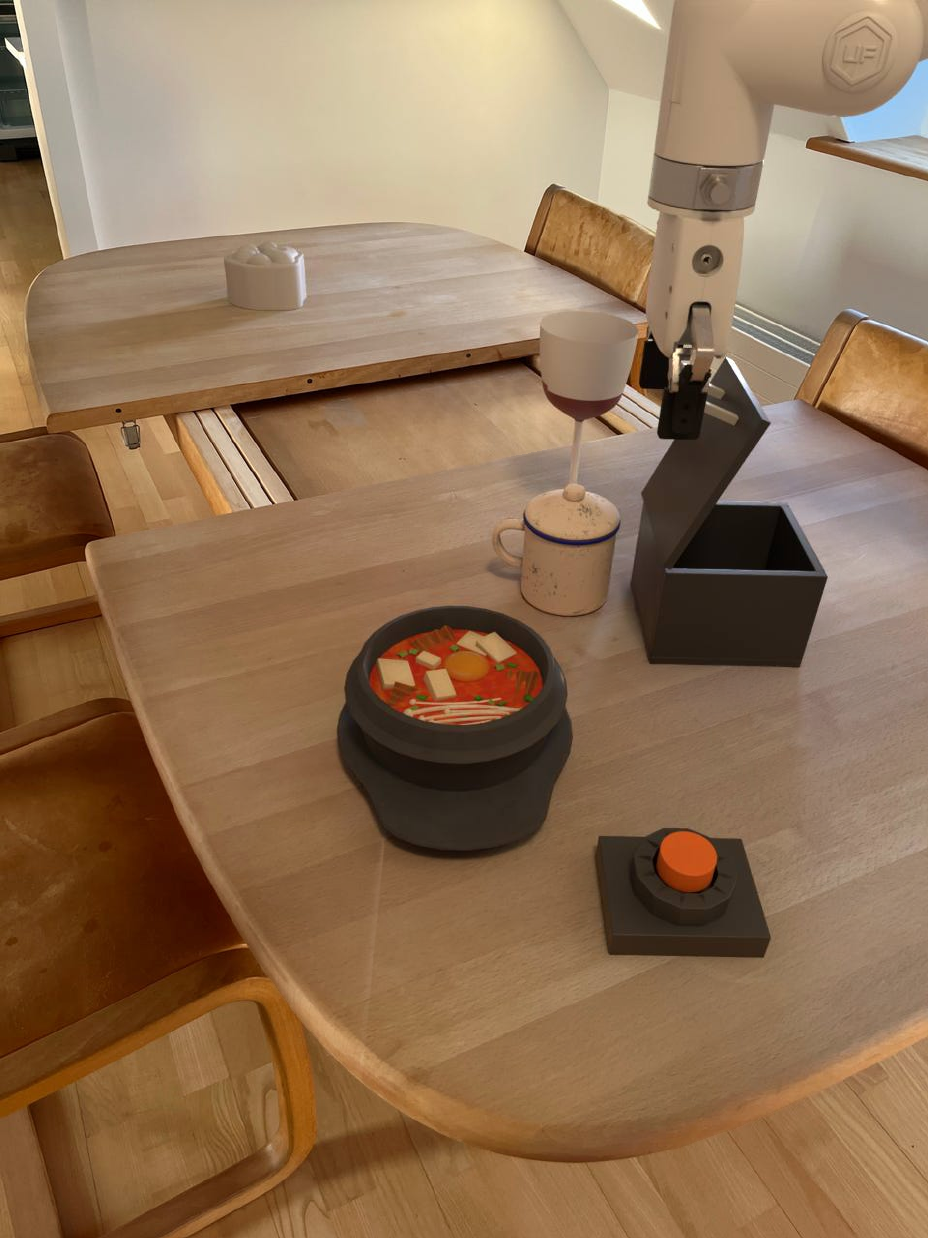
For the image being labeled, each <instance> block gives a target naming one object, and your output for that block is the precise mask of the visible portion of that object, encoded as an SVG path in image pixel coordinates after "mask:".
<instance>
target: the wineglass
mask: <svg viewBox="0 0 928 1238" xmlns="http://www.w3.org/2000/svg"><path fill="white" fill-rule="evenodd" d="M638 336H639V328H638V326H637V325H636V324H634V323H633V322H632V321H630V320H627V318H623V317H621V316H617V315H615V314H611V313H610V314H608V313H605V312H598V311H587V310H566V311H558V312H554V313H550V314H548V315H545V316H544V317H542V318H541V320H540V322H539V367H540V376H541V383H542V389H543V392H544V395H545V397H546V399H547V401H548V402H549V403H550V404H551V405H552V406H553V407H554V408H555V409H557V410H558V411H560V412H561V413H563V414H564V415H566V416H568V417H570V418H572V419H573V420H574V429H573V439H572V449H571V460H570V469H569V478H568V485H569V484H578V475H579V465H580V456H581V448H582V438H583V429H584V421H586V420H589V419H593V418H597V417H600V416H602V415H604V414H606V413H608V412H610V411H611V410H613V409H614V408H615V407H616V406H617V405H618V403H619V402H620V401H621V398H622V397H623V394H624V392H625V389H626V385H627V382H628V378H629V377H630V373H631V369H632V366H633V362H634V358H635V353H636V349H637V343H638V338H639V337H638Z"/></svg>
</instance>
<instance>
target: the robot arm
mask: <svg viewBox="0 0 928 1238" xmlns="http://www.w3.org/2000/svg"><path fill="white" fill-rule="evenodd" d="M925 60H928V0H674V1H673V6H672V13H671V19H670V27H669V35H668V43H667V50H666V59H665V65H664V74H663V81H662V88H661V95H660V104H659V112H658V118H657V129H656V133H655V141H654V152H653V157H652V165H651V172H650V180H649V186H648V195H647V201H646V202H647V205H648V207H649V208H651V209H653V210H655V211H656V212H659V213H658V219H657V222H656V230H655V237H654V243H653V249H652V255H651V261H650V268H649V273H648V274H649V275H648V283H647V290H646V301H645V316H646V317H645V318H646V322H647V327H646V331H645V333H646V334H645V337H646V338H645V339H646V340H644V341H643V348H642V355H641V357H642V358H641V362H640V370H639V376H638V385H639V388H640V389H643V390H663V391H662V398H661V404H660V409H659V417H658V423H657V428H656V434H657V437H658V438H659V439H660V440H670V441H671V440H672V441H674V440H696V439H698V438H699V436H700V431H701V426H702V420H703V415H704V410H705V404H706V399H707V394H708V390H709V383H710V378H711V377H712V368H711V367H712V364H713V362H714V358H715V359H717V360H721V359H723V358H725V357H726V355H727V354H728V352H729V348H730V341H731V335H732V330H733V322H734V315H735V309H736V303H737V296H738V291H739V290H738V289H739V283H740V274H741V268H742V267H741V266H742V258H743V247H744V233H745V217H746V218H747V217H749V216H751V215H753V213H754V212H755V209H756V203H757V199H758V193H759V187H760V183H761V178H762V172H763V168H764V160H765V157H766V151H767V146H768V141H769V137H770V131H771V126H772V125H771V124H772V120H773V115H774V109H775V106H780V107H785V108H790V109H793V110H794V109H795V110H799V111H804V112H808V113H813V114H818V115H821V116H826V117H827V116H828V117H836V118H849V117H856V116H860V115H865V114H867V113H869V112H873V111H876V110H877V109H878V108H880V107H882V106H884V105H886V104H887V103H888V102H889V101H891V100H892V99H893V98H894V97H896V95H898V94H899V93H900V91H902V89H904V87H905V86H906V85H907V83H908V82H909V81H910V79H911V78H912V76H913V74H914V72H915V70H916V68H917V66H918V64H919V63H921V62H922V61H925ZM685 345H686V346H691V347H685ZM682 361H683V362H684V361H685V362H689V364H688V363H686V365H685V366H684V368H683V369H682V371H681V373H680V374H679V368H680V363H682ZM668 372H669V380H668ZM711 379H712V378H711Z"/></svg>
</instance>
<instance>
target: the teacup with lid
mask: <svg viewBox="0 0 928 1238" xmlns="http://www.w3.org/2000/svg"><path fill="white" fill-rule="evenodd" d="M522 515H523V516H522V519H518V518H508V519H503V520H501V521H500V522H499V523H497V524H496V525H495V527H494V529H493V531H492V535H491V543H492V548H493V550H494V552H495V554H496V555H497V557H498V558H499V559H500V560H501V561H502V562H503V563H505V564H507V565H509V566H512V567H514V568H515V567H516V568H520V569H521V578H520V590H521V594H522V596H523V598H524V599H525V600H526V601H527V602H528V603H529V604H530V605H531V606H533V607H534V608H535V609H538V610H540V611H542V612H545V613H547V614H551V615H555V616H556V615H557V616H564V617H573V616H576V617H577V616H582V615H586V614H589V613H592V612H594V611H596V610H598V609H600V608H601V607H602V606H603V605H604V604H605V602H606V601H607V600H608V596H609V591H610V582H611V576H612V569H613V561H614V555H615V547H616V540H617V534H618V532H619V530H620V527H621V517H620V513H619V511H618V509H617V507H616V506H615V505H614V504H613V503H612V502H611V501H610V500H608V499H607V498H606V497H603V496H601V495H599V494H597V493H595V492H594V493H593V492H590V491H587V490H586V489H585V487H584V486H583V485H581V484H579V483H577V484H569V483H568V484H567V485H566V486H564V488H562V489H561V488H559V489H553V490H549V491H545V492H542V493H540V494H538V495H535V496H534V497H533V498H531V499H530V500H529V502H528V503H527V504H526V506H525V508H524V510H523V513H522ZM508 530H516V531H522V532H524V534H523V535H524V536H523V548H522V549H523V551H522V556H517V555H514V554H512V553H510V552H509V551H507V549H506V548H505V547H504V544H503V543H502V540H501V533H502V532H504V531H508Z"/></svg>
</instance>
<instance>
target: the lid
mask: <svg viewBox="0 0 928 1238" xmlns="http://www.w3.org/2000/svg"><path fill="white" fill-rule="evenodd" d="M686 364H687V363H686V362H681V363H680V368H679V374H680V373H681V371H682V369H683V368H684V366H685V365H686ZM668 380H669V372H668ZM771 424H772V423H771V421H770V419H769V417H768V416H767V414H766V413H765V411H764V409H763V408H762V406H761V404H760V402H759V401H758V399H757V398H756V396H755V394H754V393H753V391H752V389H751V388H750V386H749V384H748V383H747V381H746V379H745V377H744V376H743V374H742V373H741V371H740V369H739V368H738V366H737V364H736V363H735V361H734V360H733V359H731V358H729V357H727V356H724V359H723V360H722V362H721V364H720V365H719V366H718V368H717V370H716V372H715V374H714V375H713V376H712V378H711V379H710V380H709V390H708V394H707V399H706V404H705V410H704V415H703V420H702V426H701V431H700V436H699V438H698V439H696V440H672V442H671V444H670V446H669V447H668V448H667V450H666V452H665V454H664V455H663V457H662V458H661V460H660V461H659V463H658V464H657V466H656V468H655V470H654V471H653V473H652V474H651V476H650V478H649V480H648V481H647V482H646V484H645V486H644V487H643V489H642V490H641V492H640V495H641V498H642V501H643V502H644V505H645V508H646V512H647V515H648V518H649V522H650V525H651V528H652V532H653V535H654V538H655V542H656V545H657V548H658V552H659V555H660V558H661V562H662V565H663V567H665V568H668V569H670V570H671V569H672V567H673V566H674V564H675V563H676V562H677V560H678V559H679V557H680V556H681V554H682V553H683V551H684V550H685V548H686V547H687V545H688V544H689V543H690V541H691V540H692V538H693V537H694V535H695V534H696V532H697V531H698V529H699V528H700V526H701V525H702V524H703V522H704V521H705V519H706V518H707V516H708V515H709V513H710V512H711V510H712V509H713V507H714V506H715V505H716V503H717V502H718V501H720V499H721V497H722V496H723V494H724V493H725V491H726V490H727V489H728V487H729V486H730V484H731V483H732V482H733V480H734V478H735V477H736V475H737V474H738V472H739V471H740V469H741V468H742V467H743V465H744V464H745V462H746V461H747V459H748V458H749V456H750V455H751V453H752V452H753V450H754V449H755V448H756V446H757V445H758V443H759V441H760V440H761V439H762V437H763V436H764V434H765V433H766V431H767V430H768V429H769V427H770V426H771Z"/></svg>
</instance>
